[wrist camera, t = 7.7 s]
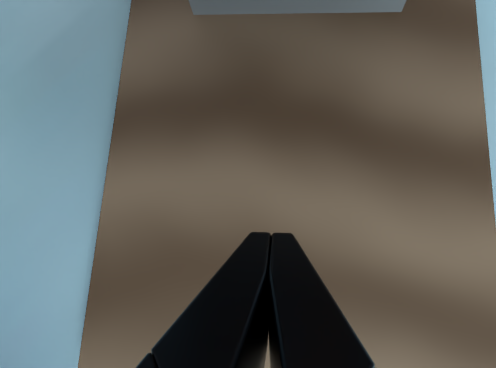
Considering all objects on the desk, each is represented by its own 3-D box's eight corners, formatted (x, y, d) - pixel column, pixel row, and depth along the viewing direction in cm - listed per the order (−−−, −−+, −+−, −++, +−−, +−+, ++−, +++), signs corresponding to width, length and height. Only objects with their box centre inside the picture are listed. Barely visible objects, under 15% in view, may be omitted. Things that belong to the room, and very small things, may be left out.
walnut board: (497, 416, 14) (513, 426, 13) (88, 379, 15) (74, 386, 14) (458, -59, 18) (468, -78, 17) (148, -49, 20) (141, -66, 19)
